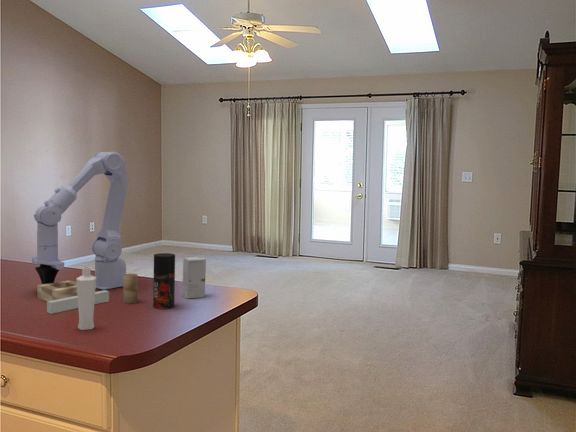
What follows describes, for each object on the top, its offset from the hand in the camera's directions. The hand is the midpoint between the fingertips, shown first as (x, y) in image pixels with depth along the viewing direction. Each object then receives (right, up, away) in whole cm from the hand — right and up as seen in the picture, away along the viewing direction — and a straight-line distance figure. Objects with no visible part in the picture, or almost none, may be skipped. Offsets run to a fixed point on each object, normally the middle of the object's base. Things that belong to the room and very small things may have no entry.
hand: (47, 289), depth 158 cm
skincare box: (+44, -3, +4) cm, 44 cm away
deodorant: (+37, -4, -9) cm, 39 cm away
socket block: (+6, -2, -4) cm, 8 cm away
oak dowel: (+27, -3, -5) cm, 27 cm away
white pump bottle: (+23, -5, -31) cm, 39 cm away
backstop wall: (+15, -3, -12) cm, 19 cm away
